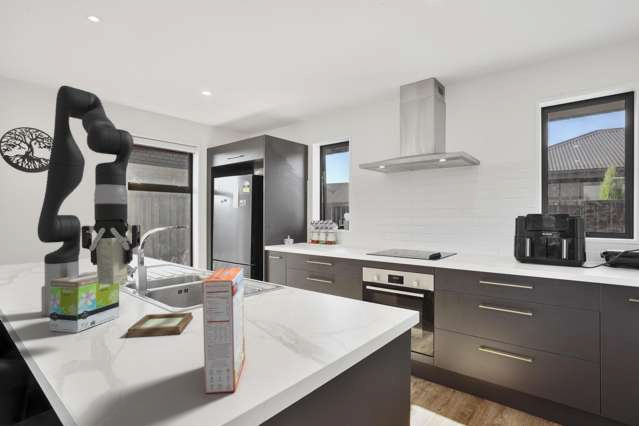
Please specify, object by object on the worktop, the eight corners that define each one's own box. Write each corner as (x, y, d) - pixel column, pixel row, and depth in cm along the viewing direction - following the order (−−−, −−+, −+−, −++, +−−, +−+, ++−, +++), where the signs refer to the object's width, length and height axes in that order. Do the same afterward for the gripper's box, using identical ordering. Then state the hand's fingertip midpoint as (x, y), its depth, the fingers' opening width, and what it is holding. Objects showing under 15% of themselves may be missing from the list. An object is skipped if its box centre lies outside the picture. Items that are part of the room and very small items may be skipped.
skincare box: (128, 282, 90) (127, 237, 90) (112, 285, 85) (112, 238, 86) (111, 280, 92) (110, 236, 92) (95, 283, 88) (95, 237, 88)
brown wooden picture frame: (126, 337, 89) (126, 329, 89) (146, 320, 103) (146, 314, 103) (180, 334, 91) (180, 326, 91) (193, 318, 105) (192, 312, 105)
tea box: (78, 333, 93) (77, 280, 93) (48, 331, 95) (48, 279, 95) (120, 317, 107) (120, 271, 107) (94, 315, 109) (94, 270, 109)
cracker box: (218, 361, 74) (217, 267, 74) (246, 359, 75) (245, 267, 75) (201, 395, 60) (200, 280, 60) (235, 393, 61) (234, 279, 61)
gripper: (145, 202, 93) (145, 261, 93) (90, 203, 92) (91, 262, 92) (133, 202, 86) (133, 265, 86) (73, 202, 84) (74, 267, 84)
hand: (111, 264), depth 89 cm, fingers closed on skincare box, 7 cm apart
